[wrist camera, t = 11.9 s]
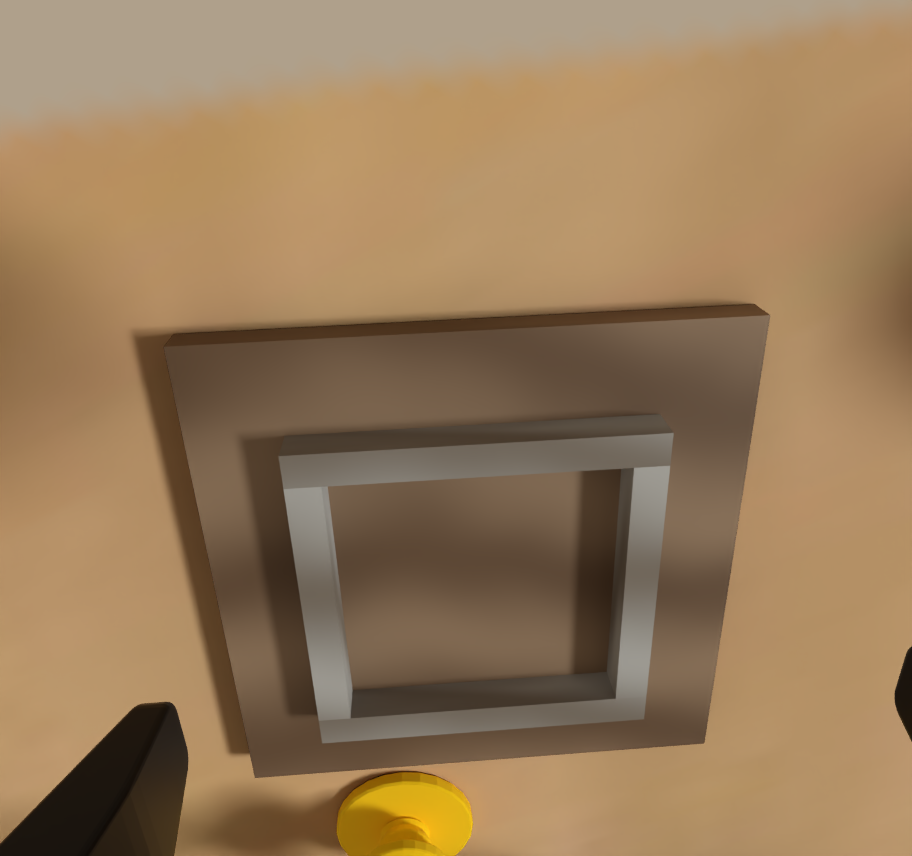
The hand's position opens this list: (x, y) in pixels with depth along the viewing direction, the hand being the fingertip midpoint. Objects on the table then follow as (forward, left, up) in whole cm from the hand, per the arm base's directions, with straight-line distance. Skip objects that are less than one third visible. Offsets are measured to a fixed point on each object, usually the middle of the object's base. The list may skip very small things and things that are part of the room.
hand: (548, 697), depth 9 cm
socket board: (-8, 0, -13) cm, 15 cm away
